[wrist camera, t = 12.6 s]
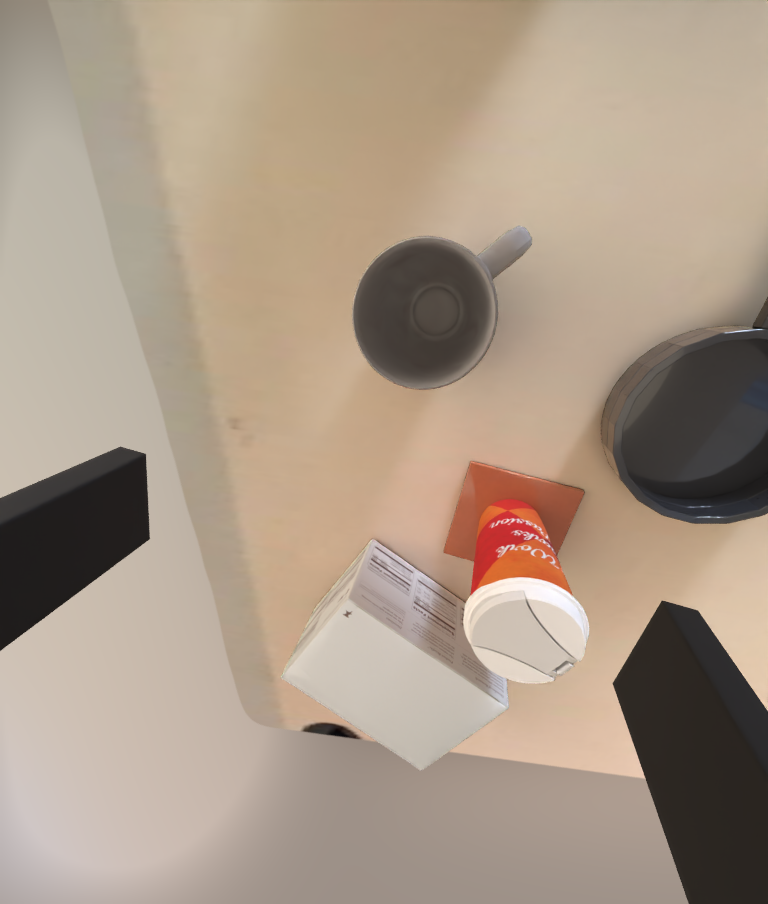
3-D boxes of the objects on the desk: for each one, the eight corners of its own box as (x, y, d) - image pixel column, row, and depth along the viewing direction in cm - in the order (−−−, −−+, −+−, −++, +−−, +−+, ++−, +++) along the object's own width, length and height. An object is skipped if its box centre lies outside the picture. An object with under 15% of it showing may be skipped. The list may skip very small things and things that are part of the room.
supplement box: (312, 609, 47) (276, 678, 39) (372, 535, 42) (346, 596, 34) (430, 690, 48) (420, 776, 40) (505, 628, 43) (511, 711, 34)
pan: (645, 307, 30) (665, 309, 27) (859, 350, 28) (908, 357, 25) (574, 477, 36) (584, 495, 32) (749, 521, 34) (777, 545, 31)
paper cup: (573, 521, 36) (624, 644, 24) (515, 574, 40) (533, 708, 27) (502, 471, 36) (516, 567, 23) (449, 528, 39) (436, 641, 27)
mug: (425, 387, 36) (408, 417, 27) (362, 302, 34) (322, 305, 25) (552, 293, 31) (582, 293, 22) (485, 192, 30) (488, 148, 21)
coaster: (470, 460, 37) (470, 462, 37) (583, 489, 36) (584, 492, 35) (443, 550, 41) (443, 552, 40) (544, 579, 40) (545, 582, 39)
